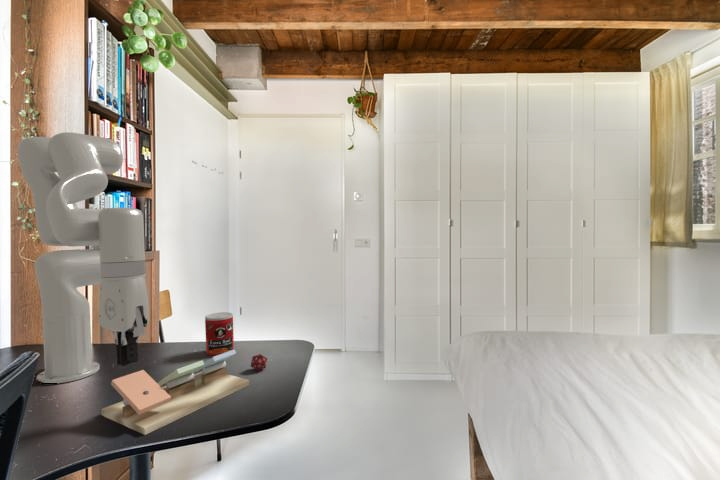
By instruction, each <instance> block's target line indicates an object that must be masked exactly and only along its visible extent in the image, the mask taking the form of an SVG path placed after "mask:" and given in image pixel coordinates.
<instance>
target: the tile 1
mask: <svg viewBox="0 0 720 480" xmlns="http://www.w3.org/2000/svg"><path fill="white" fill-rule="evenodd" d="M157 383H158V382H157V381H156V380H155V379H153V377H152V376H150V375H149V374H148V373H147V372H146V370H144V369H141V370H138V371H135V372H132V373H130V374H125V375H123V376H120V377H117V378H114V379H112V380H111V383H110V385H111V386H112V387H113V388H114V389H115V391H116V392H117V393H118V394H119V395H120V396H121V398H123V399H122V401H123V403H124V405H125V406H126V405H130V406H131V407H132V408H133V409H134V410H135V411H136V412H137V413H138V414H139V415H140V414H142V413H144V412H147V411H149V410H151V409H154V408H156V407H158V406H161V405H163V404H165V403H168V402H170V401H171V396H170V395H169V394H168V393H167V392H166V391H165V390H164V389H163V388H162V387H161V386H160V385H158V384H157Z"/></svg>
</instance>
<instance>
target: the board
mask: <svg viewBox="0 0 720 480" xmlns="http://www.w3.org/2000/svg"><path fill="white" fill-rule="evenodd" d="M227 370H228V369H227V367H226V366H225V367H222V368H220V369H217V370H215V371H212V372H210V373H207V374H205V375H204V374H203V373H202V371H201V372H199V373H196V374H194V379H192V380H189V381H187V382H184V383H182V384H179V385H177V386H174V387H172V388H169V389H168V388H167V387H166V386H164V387H162V388H163V389H164V390H165V391H166V392H167V393H168V394H169V395H170V396H171V401H170V402H168V403H165V404H163V405H161V406H158V407H156V408H154V409H151V410H149V411H147V412H144V413H142V414H140V415H139V414H138V413H137V412H136V411H135V410H134V409H133V408H132V407H131V406H130V405H126V406H125V405H124V403H123V400H122V401H119V402H117V403H114V404H111V405H108V406H106V407H103V408H101V409H100V412H101V413H100V414H101V416H103V417H104V418H106V419H109V420H111V421H113V422H116V423H117V424H120V425H122V426H124V427H127V428H128V429H130V430H133V431H135V432H137V433H140V434H142V435H144V436H146V435H148V434H150V433H152V432H154V431H156V430H158V429H161V428H162V427H163V428H164V427H165V426H167V425H169V424H171V423H174V422H175V421H177V420H179V419H182V418H184V417H185V416H188V415H190V414H192V413H194V412H196V411H198V410H200V409H203V408H205V407H207V406H209V405H211V404H213V403H215V402H217V401H219V400H221V399H223V398H225V397H227V396H230V395H231V394H233V393H235V392H238V391H240V390H242V389H243V388H246V387H248V386H250V380H249V379H247V378H243V377H239V376H235V375H232V374H228V371H227Z"/></svg>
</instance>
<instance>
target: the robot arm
mask: <svg viewBox="0 0 720 480" xmlns="http://www.w3.org/2000/svg"><path fill="white" fill-rule="evenodd" d="M17 160H18V165H19V168H20V171H21V174H22V176H23V179H24V180H25V182H26V184H27V185H28V187H29V189H30V192H31V194H32V198H33V207H34V213H35V220H36V227H37V233H38V237H39V239H40V241H41V242H42V244H44V245H46V246H49V247H50V246H51V247H91V248H86V249H85V248H84V249H78V248H77V249H63V250H60V249H59V250H53V251H47V252H45V253H43V254H41V255H40V256H38V258H37V259H36V261H35V263H34V272H35V273H34V274H35V277H36V281H37V285H38V288H39V293H40V294H39V295H40V304H41V317H42V336H43V337H42V339H43V341H42V342H43V361H44V370H43V371H42V372H40V373H39V374H37V375H36V381H37V380H39V381H41V382H44V383H57V384H63V383H69V382H73V381H77V380H81V379H84V378H87V377H89V376H92V375H94V374H96V373H98V372H99V370H100V364H99V362H96V361H93V356H92V355H93V353H92V350H93V349H92V330H91V329H92V327H91V326H92V325H91V308H90V307H91V306H90V302H89V300H88V298H87V297H85V296H84V295H83V294H82V293H81V292H80V291H79V290H78V288H80V287H87V286H96V285H100V286H99V288H100V289H99V300H98V301H99V305H98V306H99V307H98V311H99V312H98V313H99V315H98V319H99V321H98V323H99V326H100V327H101V328H102V329H104V330H108V331H109V332H110V333H112V334H113V336H114V337H113V338H114V343H115V344H116V345H115V349H116V350H115V351H116V364H117V365H118V366H124V367H125V366H126V365H127V366H128V365H130V364H134V363H137V362H138V361H139V351H138V350H139V347H138V342H139V340H140V337H141V336H144V335H145V334H146V333H145V328H146V327H147V326H148V325H149V323H150V307H149V296H148V289H147V283H146V279H145V277H147V274H146V273H147V272H146V270H147V269H146V252H145V248H146V247H145V228H144V227H145V226H144V216H143V212H142V211H141V210H140V209H138V208H134V207H106V208H78V206H77V203H79V202H82V201H86V200H89V199H92V198H94V197H97V196H99V195H100V194H102V193H103V192H104V191H105V190H106V189H107V186H108V183H109V178H108V175H111V174H115V173H117V172H118V171H119V170H120V169H121V168H122V166H123V162H124V155H123V151H122V148H121V147H120V145H119V144H118V143H117V142H116V141H115V140H113V139H111V138H108V137H103V136H96V135H90V134H84V133H77V132H71V131H70V132H69V131H68V132H58V133H57V134H54V135H53V136H52V137H48V136H29V137H25V138H24V139H23V138H22V140H20V142H19V144H18V147H17ZM56 173H57V174H56Z"/></svg>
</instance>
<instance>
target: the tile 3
mask: <svg viewBox="0 0 720 480" xmlns="http://www.w3.org/2000/svg"><path fill="white" fill-rule="evenodd" d="M235 354H237V352H236V350H235V348H234V349H233V350H231V351H228V352H226V353H223V354H220V355H217V356H211V358H209V359H207V360H206V361H203V362H204V365H203V366H201V367H200V368H198V369H197V370H195V371H194V372H192V373H193V374H196V373H199V372H201V371H202V373H203V374H204V375H205V374H207V373H210V372H212V371H215V370H217V369H220V368H222V367H225V368H226V366H227V363H226V360H227V359H229V358H230V357H233V356H234V355H235Z"/></svg>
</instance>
